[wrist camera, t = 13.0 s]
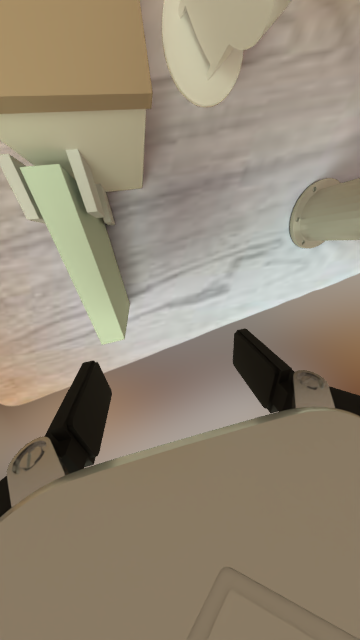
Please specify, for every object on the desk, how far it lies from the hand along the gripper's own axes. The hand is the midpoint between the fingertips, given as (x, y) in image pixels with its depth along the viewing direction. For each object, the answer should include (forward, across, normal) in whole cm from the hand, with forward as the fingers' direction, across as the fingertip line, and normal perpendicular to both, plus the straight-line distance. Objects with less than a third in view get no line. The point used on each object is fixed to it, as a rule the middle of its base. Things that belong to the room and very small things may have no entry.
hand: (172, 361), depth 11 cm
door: (+25, +8, -5) cm, 27 cm away
